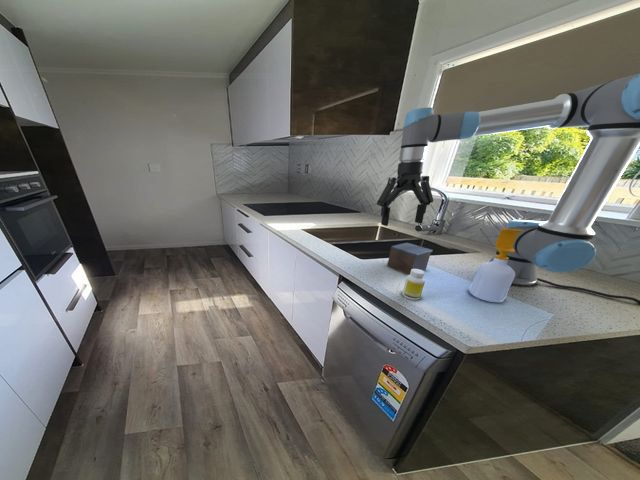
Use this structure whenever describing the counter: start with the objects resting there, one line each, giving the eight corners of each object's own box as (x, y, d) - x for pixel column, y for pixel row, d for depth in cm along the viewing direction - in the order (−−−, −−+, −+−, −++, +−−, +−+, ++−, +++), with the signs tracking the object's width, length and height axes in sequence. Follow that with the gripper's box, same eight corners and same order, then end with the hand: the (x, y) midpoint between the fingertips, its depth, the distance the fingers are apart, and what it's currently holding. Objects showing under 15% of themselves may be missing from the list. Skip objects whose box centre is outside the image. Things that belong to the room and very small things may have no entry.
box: (425, 270, 103) (431, 251, 100) (410, 275, 99) (415, 256, 96) (402, 261, 112) (406, 243, 109) (386, 266, 108) (391, 247, 104)
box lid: (432, 251, 100) (432, 250, 99) (416, 256, 95) (417, 254, 95) (406, 243, 109) (406, 242, 108) (391, 247, 104) (391, 246, 104)
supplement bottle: (422, 301, 82) (430, 275, 78) (405, 299, 83) (412, 274, 79) (416, 292, 87) (423, 268, 83) (399, 291, 88) (406, 267, 84)
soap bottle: (470, 298, 83) (497, 229, 74) (467, 286, 90) (491, 222, 81) (506, 306, 79) (539, 234, 69) (500, 293, 86) (529, 226, 76)
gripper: (435, 161, 86) (424, 219, 93) (370, 163, 83) (363, 224, 90) (454, 159, 79) (440, 223, 86) (384, 162, 76) (376, 228, 83)
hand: (401, 224), depth 88 cm, fingers open, 13 cm apart
